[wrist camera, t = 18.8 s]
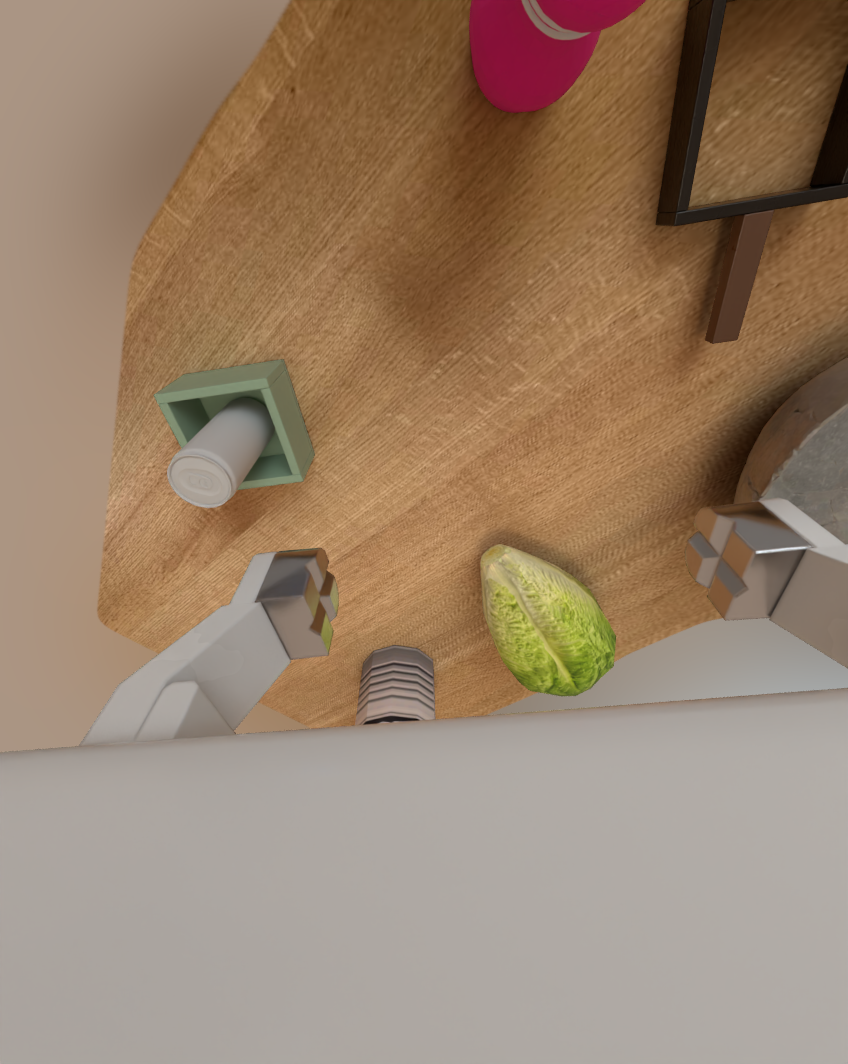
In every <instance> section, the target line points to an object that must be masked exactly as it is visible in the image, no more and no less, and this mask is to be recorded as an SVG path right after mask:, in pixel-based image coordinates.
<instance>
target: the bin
mask: <svg viewBox="0 0 848 1064" xmlns="http://www.w3.org/2000/svg"><path fill="white" fill-rule="evenodd" d="M154 397H155V399H156V401H157V403H158V404H159V407H160V409H161V410H162V412H163V414H164V416H165V418H166V420H167V422H168V424H169V426H170V427H171V429H172V431H173V433H174V435H175V437H176V439H177V441H178V443H179V444H180V446H181V448H183V447H184V446H185V445H186V444H187V443H188V442H189V441H190V440H191V439H192V438H193V437H194V436H195V435H196V434H197V433H198V432H199V431H200V430H201V429H202V428H203V427H204V426H205V425H206V424H208V423H209V422H210V421H211V420H212V419H213V418H214V417H215V416H216V415H217V414H218V413H219V412H220V411H221V410H222V409H223V408H224V407H225V406H226V405H227V404H228V403H229V402H230V401H233V400H235V399H239V398H251V399H254V400H257V401H258V402H260V403H261V404H263V405H264V406H265V407H266V408H267V409H268V410H269V413H270V416H271V418H272V421H273V424H274V427H275V430H274V434H273V436H272V438H271V439H270V441H269V442H268V444H267V445H266V447H265V448H264V450H263V451H262V453H261V454H260V456H259V458H258V459H257V461H256V462H255V464H254V465H253V467H252V468H251V470H250V471H249V473H248V474H247V476H246V477H245V479H244V480H243V482H242V483H241V485H240V486H239V488H238V489H237V490H241V489H249V488H257V487H264V486H272V485H280V484H288V483H295V482H303V481H304V478H305V476H306V474H307V472H308V469H309V467H310V465H311V462H312V460H313V458H314V456H315V454H314V451H313V448H312V445H311V441H310V438H309V435H308V432H307V429H306V426H305V423H304V420H303V417H302V414H301V411H300V408H299V405H298V402H297V399H296V396H295V392H294V389H293V386H292V383H291V380H290V377H289V374H288V371H287V368H286V365H285V362H284V359H281V360H275V361H268V362H262V363H255V364H249V365H242V366H236V367H229V368H223V369H216V370H210V371H203V372H197V373H190V374H184V375H182V376H181V377H179V378H178V379H176V380H175V381H173V382H172V383H170V384H169V385H167V386H166V387H165V388H163V389H162V390H160V391H159V392H157V393H156V394H154Z"/></svg>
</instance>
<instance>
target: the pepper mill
mask: <svg viewBox="0 0 848 1064" xmlns="http://www.w3.org/2000/svg"><path fill="white" fill-rule="evenodd" d="M645 1H646V0H472V2H471V8H470V21H469V33H470V46H471V54H472V63H473V70H474V73H475V77H476V80H477V82H478V85H479V87H480V89H481V91H482V92H483V94H484V95H485V97H486V98H487V99H488V100H489V101H490V102H491V103H492V104H493V105H494V106H495V107H497V108H498V109H500V110H503V111H506V112H512V113H519V112H529V111H536V110H539V109H542V108H544V107H547V106H548V105H550V104H552V103H553V102H555V101H556V100H558V99H559V98H560V97H561V96H562V95H564V94H565V93H566V92H567V90H568V89H569V88H570V87H571V86H572V85H573V84H574V82H575V81H576V79H577V78H578V77H579V75H580V74H581V72H582V71H583V70H584V68H585V66H586V64H587V62H588V61H589V59H590V57H591V55H592V53H593V51H594V48H595V46H596V44H597V41H598V38H599V35H600V32H601V30H603V29H605V28H608V27H611V26H613V25H614V24H616V23H618V22H619V21H621V20H623V19H624V18H626V17H627V16H628V15H630V14H631V13H632V12H634V11H635V10H636V9H637V8H638V7H640V6H641V5H642V4H643V3H644V2H645Z"/></svg>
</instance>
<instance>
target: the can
mask: <svg viewBox="0 0 848 1064" xmlns="http://www.w3.org/2000/svg"><path fill="white" fill-rule="evenodd" d="M431 719H435V693H434V669H433V659H431V658H430V657H428V656H427V655H426V654H424V653H423V652H422V651H420V650H419V649H417V648H411V647H404V646H397V645H394V646H390V647H386V648H383V649H379V650H375V651H373V652H372V653H371V655H370V656H369V657H368V658H367V659H366V660H365V661H364V663H363V668H362V676H361V684H360V691H359V699H358V707H357V715H356V723H355V725H365V724H379V723H392V722H405V721H418V720H431Z"/></svg>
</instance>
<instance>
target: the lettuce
mask: <svg viewBox="0 0 848 1064" xmlns="http://www.w3.org/2000/svg"><path fill="white" fill-rule="evenodd" d="M480 568H481V585H482V605H483V614H484V616H485V619H486V622H487V624H488V627H489V630H490V632H491V635H492V638H493V641H494V644H495V646H496V649H497V651H498V653H499V654H500V656H501V658H502V660H503V662H504V663H505V665H506V666H507V667H508V669H509V670H510V671H511V672H512V674H513V675H514V676H515V677H516V678H517V680H518V681H519V682H520V683H521V684H522V685H524V686H525V687H526V688H527V689H528V690H530V691H535V692H540V693H546V694H552V695H558V696H576V695H578V694H580V693H582V692H584V691H586V690H588V689H590V688H591V687H592V686H593V685H594V684H595V683H596V682H597V681H598V680H599V679H600V678H601V677H602V676H603V675H604V674H605V673H607V672H608V671H609V670H610V669H611V668H612V667H613V666H614V654H615V643H616V635H615V634H614V632H613V630H612V628H611V626H610V624H609V622H608V621H607V619H606V617H605V615H604V613H603V612H602V610H601V608H600V606H599V605H598V603H597V601H596V600H595V598H594V596H593V594H592V593H591V591H590V589H588V588H587V587H586V586H585V585H583V584H582V583H581V582H580V581H578V580H577V579H576V578H575V577H573V576H572V575H570V574H569V573H567V572H565V571H564V570H562V569H561V568H559V567H557V566H556V565H553V564H551V563H549V562H547V561H545V560H543V559H541V558H538V557H535V556H533V555H530V554H528V553H526V552H523V551H521V550H518V549H516V548H513V547H510V546H506V545H502V544H498V545H495V546H493V547H491V548H489V549H488V550H487V551H486V552H485V553H484V554H483V555H482V557H481V563H480Z"/></svg>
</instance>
